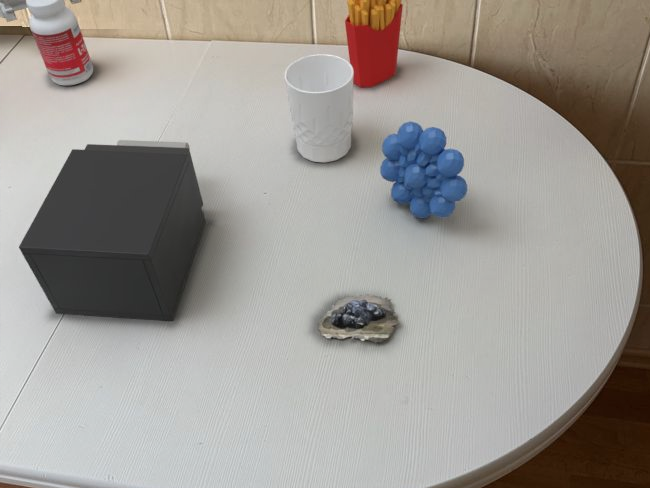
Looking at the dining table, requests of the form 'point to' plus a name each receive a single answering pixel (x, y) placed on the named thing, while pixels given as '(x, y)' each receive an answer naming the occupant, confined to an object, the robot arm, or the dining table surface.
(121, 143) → the drawer
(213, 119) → the dining table surface
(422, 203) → the grapes
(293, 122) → the white cup
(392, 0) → the french fries
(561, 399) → the dining table surface
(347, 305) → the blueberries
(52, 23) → the pill bottle
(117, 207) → the cabinet
